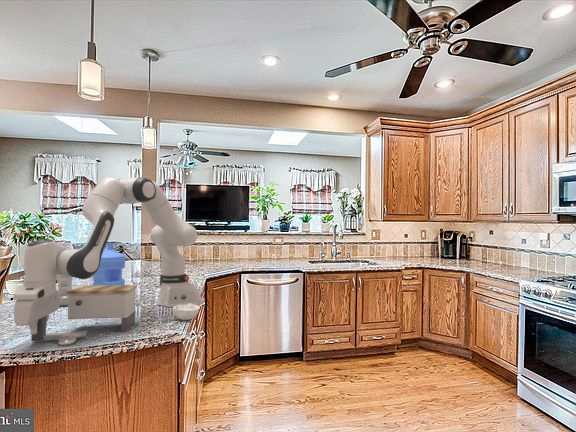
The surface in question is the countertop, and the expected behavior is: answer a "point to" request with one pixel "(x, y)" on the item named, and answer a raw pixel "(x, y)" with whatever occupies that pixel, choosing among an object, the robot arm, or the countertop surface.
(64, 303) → the plastic bottle
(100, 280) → the water jug
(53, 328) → the countertop surface
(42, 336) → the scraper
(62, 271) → the robot arm
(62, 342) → the steel token
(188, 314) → the bowl of rice
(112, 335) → the countertop surface
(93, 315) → the low cabinet
